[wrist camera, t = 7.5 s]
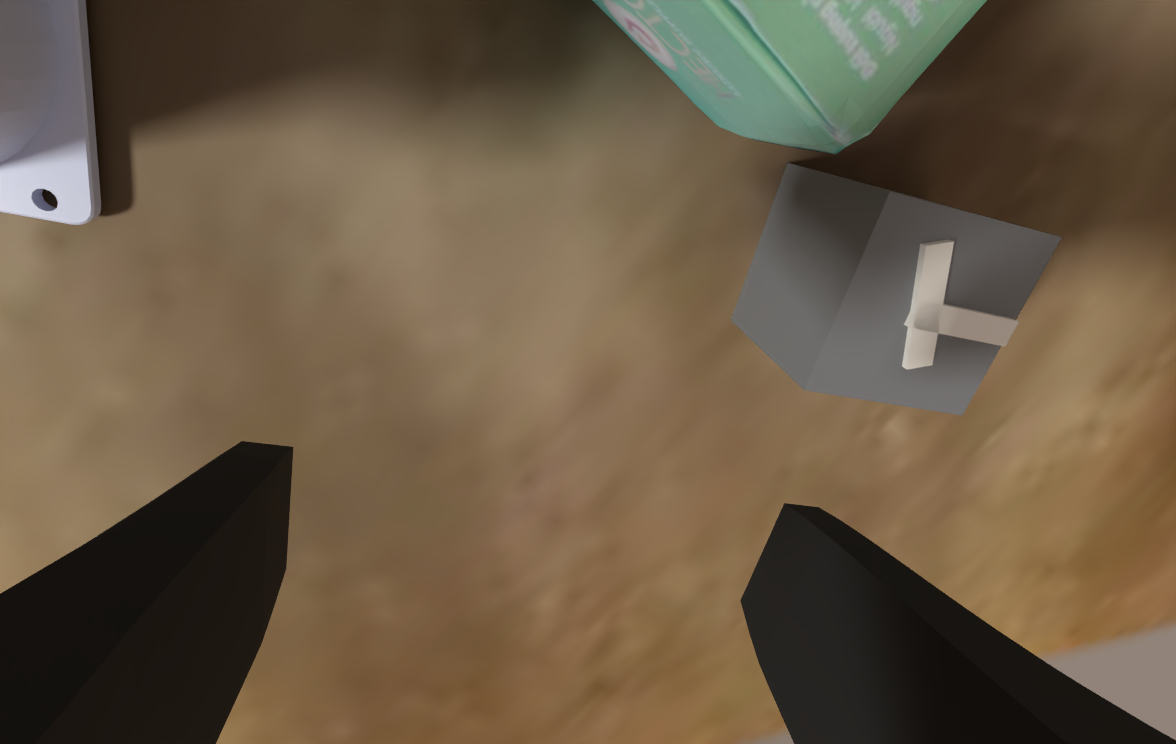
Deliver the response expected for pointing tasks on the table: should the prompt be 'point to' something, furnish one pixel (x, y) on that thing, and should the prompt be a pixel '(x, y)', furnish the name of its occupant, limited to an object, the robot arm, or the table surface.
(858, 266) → the charcoal cube
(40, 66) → the robot arm
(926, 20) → the box
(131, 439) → the table surface
